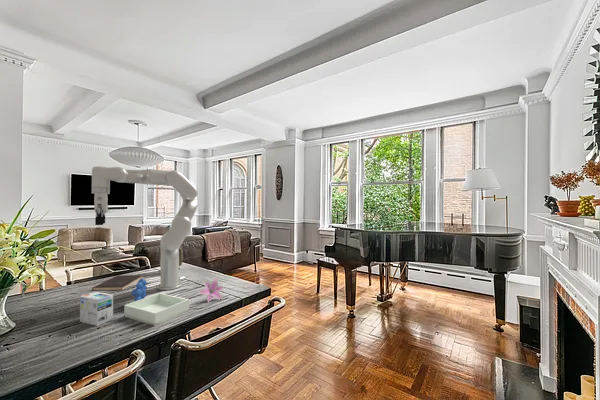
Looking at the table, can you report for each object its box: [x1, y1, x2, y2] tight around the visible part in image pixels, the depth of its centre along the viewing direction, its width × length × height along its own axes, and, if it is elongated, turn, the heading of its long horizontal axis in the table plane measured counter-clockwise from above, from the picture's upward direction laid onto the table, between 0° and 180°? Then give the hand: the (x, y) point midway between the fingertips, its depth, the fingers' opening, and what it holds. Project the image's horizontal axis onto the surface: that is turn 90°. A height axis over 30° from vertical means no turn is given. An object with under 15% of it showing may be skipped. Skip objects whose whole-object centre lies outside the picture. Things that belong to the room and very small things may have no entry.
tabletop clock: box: [158, 246, 184, 271], centre depth 189 cm, size 14×9×25 cm, turn 123°
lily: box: [198, 277, 225, 303], centre depth 139 cm, size 12×12×10 cm
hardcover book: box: [91, 274, 143, 291], centre depth 162 cm, size 16×23×2 cm
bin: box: [123, 292, 190, 327], centre depth 121 cm, size 17×19×5 cm
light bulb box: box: [79, 291, 114, 327], centre depth 113 cm, size 11×7×11 cm, turn 71°
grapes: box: [130, 278, 148, 302], centre depth 131 cm, size 12×7×12 cm, turn 14°
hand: (100, 224), depth 140 cm, fingers open, 9 cm apart
